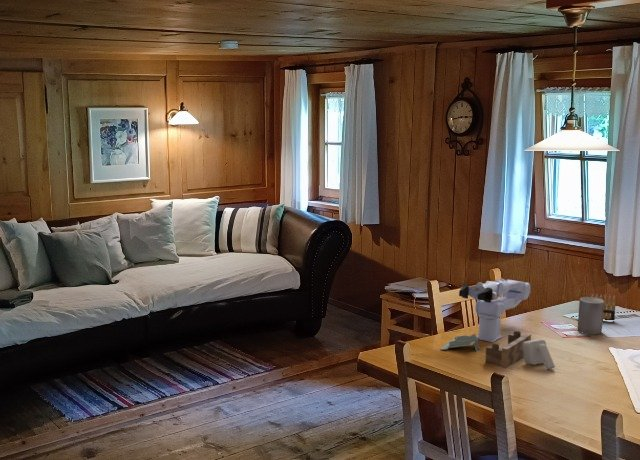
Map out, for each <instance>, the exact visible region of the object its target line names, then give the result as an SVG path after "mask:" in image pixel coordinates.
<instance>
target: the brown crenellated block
mask: <svg viewBox="0 0 640 460" xmlns="http://www.w3.org/2000/svg"><path fill="white" fill-rule="evenodd" d="M507 336H508V337H507V345H505V346H503V347H502V348H501V347H500V344H499V343H497V342H493V343H492V345H488V346H486V347H485V361H484V363H485V364H486V365H487V364H488V365H491V366H495V367H500V368H505V369H507V368H509V367H510V366H512V365H513V364H514V363H516V362H518V361H519V360H520V359H522V358H524V352H523V343H524V342H525V341H531V340H532V334H529V333H525V334H523V335H522V333H521V331H520V330H517V329H516V330H515V331H514V332H513V333H509V334H508V335H507Z"/></svg>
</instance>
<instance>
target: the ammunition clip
mask: <svg viewBox="0 0 640 460" xmlns="http://www.w3.org/2000/svg"><path fill="white" fill-rule="evenodd" d="M590 297H595V298H600V299H602V300H604V308H603V319H605V320H615V319H616V318H615V317H616V316H615V315H616V295H615V294H614V295H613V297H611V294H609V295H608V298H607V294H604V296H603V294H602V293H601V294H600V296H599V294H598V293H596V295H594V293H592V294H591V296H590Z"/></svg>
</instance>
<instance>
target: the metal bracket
mask: <svg viewBox="0 0 640 460" xmlns="http://www.w3.org/2000/svg"><path fill="white" fill-rule="evenodd" d="M476 336H477V334H475V333H473V334H472V335H465V334H463V335H458V336H454V338H452V339H451V340H449V341H448V342H447V343H446V344H445V345H443V346H442V347H441V348H439V351H444V350H448V349H452V348H460V347H467V346H472V345H473V346H474V349H475V352H477V351H478V350H480V349H481V347H480V346H479V342H478V340H479V338H480V337H476Z"/></svg>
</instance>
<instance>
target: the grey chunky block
mask: <svg viewBox="0 0 640 460" xmlns="http://www.w3.org/2000/svg"><path fill="white" fill-rule="evenodd" d="M523 352H524V357H523V361H524V363H525V364H526V365H532V366H533V365H539V364H544V366H545V368H546V370H551V369H554V368H556V365H555V363H554V361H553V358H552V355H551V353H550V351H549V348H548V346H547V342H546V340H543V339H533V340H532V339H531V341H525V342H524V343H523Z"/></svg>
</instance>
